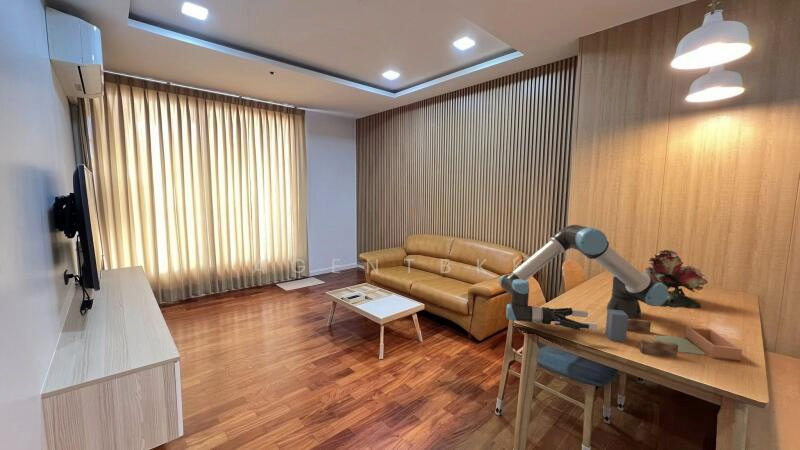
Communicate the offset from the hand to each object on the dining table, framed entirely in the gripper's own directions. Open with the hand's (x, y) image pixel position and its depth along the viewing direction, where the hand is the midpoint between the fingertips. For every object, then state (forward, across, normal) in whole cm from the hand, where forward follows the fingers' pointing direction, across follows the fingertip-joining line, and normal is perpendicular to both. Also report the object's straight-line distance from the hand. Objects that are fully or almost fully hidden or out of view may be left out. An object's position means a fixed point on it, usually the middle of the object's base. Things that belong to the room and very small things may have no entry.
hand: (592, 320), depth 146 cm
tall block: (+10, 0, -7) cm, 12 cm away
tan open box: (+45, 0, -7) cm, 45 cm away
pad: (+33, 0, -7) cm, 34 cm away
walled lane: (+21, 0, -7) cm, 22 cm away
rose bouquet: (+58, -64, -7) cm, 86 cm away
